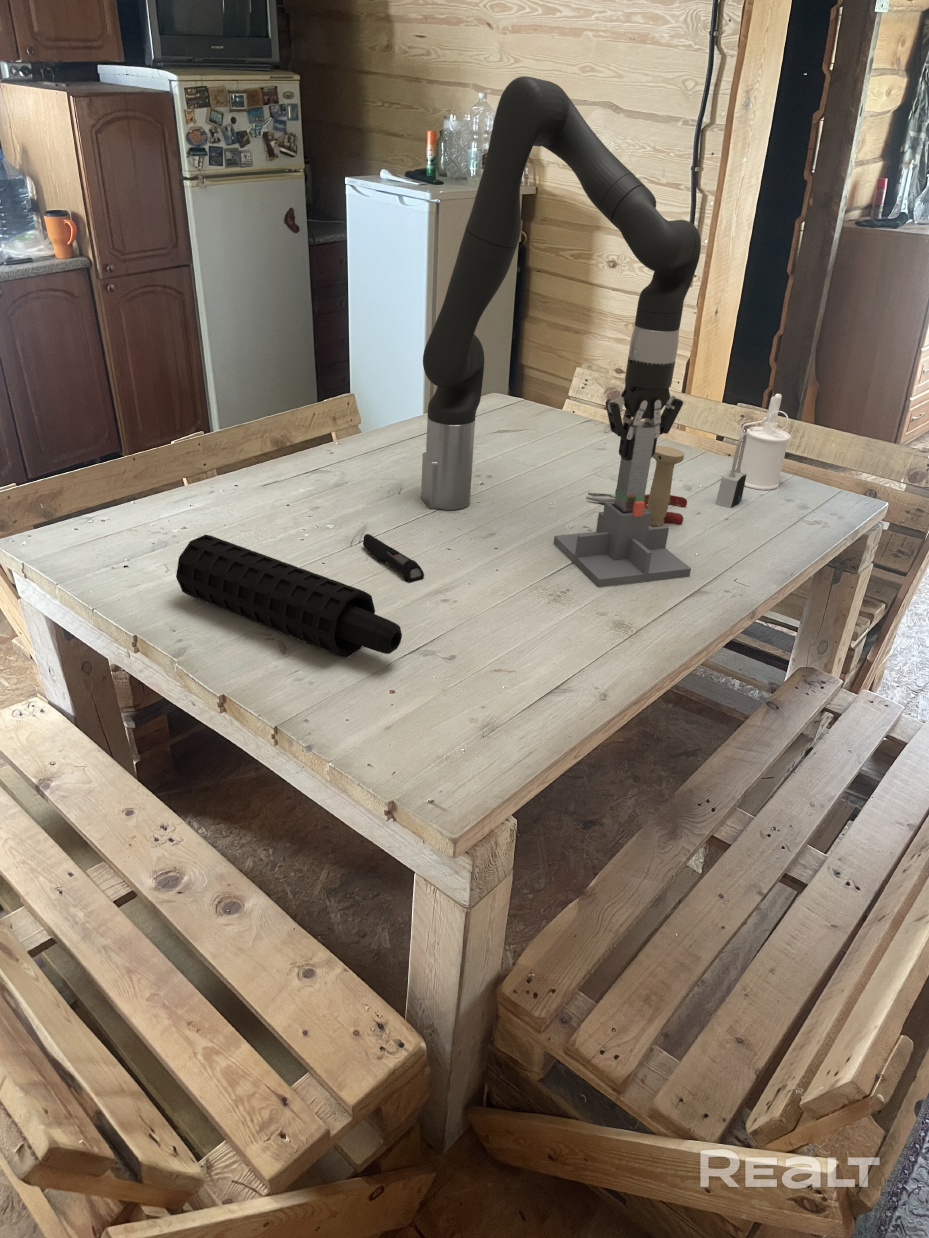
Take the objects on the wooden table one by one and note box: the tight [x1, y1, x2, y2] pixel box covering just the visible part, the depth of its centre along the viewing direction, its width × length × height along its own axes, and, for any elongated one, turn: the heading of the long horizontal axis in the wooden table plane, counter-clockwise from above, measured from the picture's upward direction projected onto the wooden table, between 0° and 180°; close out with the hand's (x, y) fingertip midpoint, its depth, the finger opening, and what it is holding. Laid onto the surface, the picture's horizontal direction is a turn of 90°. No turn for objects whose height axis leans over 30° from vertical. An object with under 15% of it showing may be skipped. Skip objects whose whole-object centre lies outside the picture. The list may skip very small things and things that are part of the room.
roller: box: [175, 534, 403, 659], centre depth 132 cm, size 38×10×10 cm, turn 58°
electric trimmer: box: [362, 533, 425, 583], centre depth 155 cm, size 4×16×3 cm, turn 38°
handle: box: [648, 445, 685, 527], centre depth 174 cm, size 5×6×15 cm
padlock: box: [715, 432, 747, 509], centre depth 187 cm, size 7×4×15 cm, turn 145°
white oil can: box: [739, 393, 792, 491], centre depth 197 cm, size 10×9×20 cm
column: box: [614, 420, 656, 514], centre depth 154 cm, size 4×4×17 cm
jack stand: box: [553, 501, 692, 588], centre depth 159 cm, size 18×18×12 cm
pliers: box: [585, 492, 688, 526], centre depth 184 cm, size 12×20×3 cm, turn 73°
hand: (635, 457), depth 153 cm, fingers closed on column, 3 cm apart
